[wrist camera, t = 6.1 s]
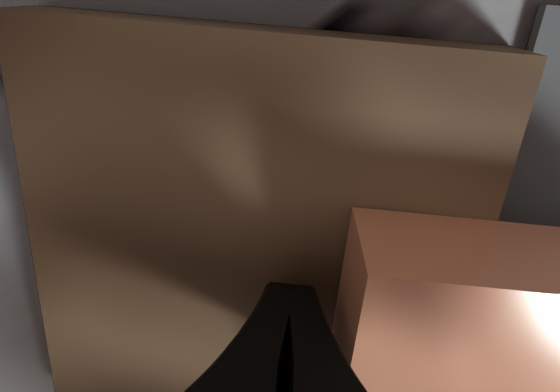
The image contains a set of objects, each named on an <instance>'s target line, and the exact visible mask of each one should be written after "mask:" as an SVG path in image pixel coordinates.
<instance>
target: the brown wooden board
mask: <svg viewBox="0 0 560 392" xmlns="http://www.w3.org/2000/svg"><path fill="white" fill-rule="evenodd" d="M547 57H548V56H546V55H542V54H538V53H535V52H531V51H527V50H524V49H520V48H516V47H513V46H505V45H493V44H482V43H470V42H459V41H447V40H435V39H424V38H412V37H401V36H389V35H377V34H366V33H354V32H343V31H331V30H320V29H308V28H296V27H285V26H273V25H262V24H250V23H238V22H227V21H215V20H204V19H192V18H181V17H169V16H157V15H146V14H134V13H123V12H111V11H99V10H88V9H76V8H65V7H53V6H42V5H38V6H18V7H0V66H1V72H2V78H3V84H4V90H5V96H6V102H7V108H8V114H9V120H10V126H11V132H12V138H13V144H14V150H15V156H16V162H17V168H18V174H19V180H20V186H21V192H22V198H23V204H24V210H25V216H26V222H27V228H28V234H29V240H30V246H31V252H32V258H33V264H34V270H35V276H36V282H37V288H38V294H39V300H40V306H41V312H42V318H43V324H44V330H45V336H46V342H47V348H48V354H49V360H50V366H51V372H52V378H53V384H54V390H55V392H184V391H185V390H186V389H187V388H188V387H189V386H190V385H191V384H192V383H193V382H195V381H196V380H197V379H198V378H199V377H200V376H201V375H202V374H203V373H204V372H205V371H206V370H207V369H208V368H209V367H210V366H211V365H212V363H213V362H214V361H215V360H216V359H217V358H218V357H219V356H220V354H221V353H222V352H223V351H224V350H225V349H226V347H227V346H228V345H229V343H230V342H231V341H232V340H233V338H234V337H235V336H236V335H237V333H238V332H239V331H240V329H241V328H242V326H243V325H244V323H245V322H246V321H247V319H248V318H249V316H250V315H251V313H252V312H253V310H254V308H255V307H256V305H257V303H258V301H259V300H260V298H261V296H262V294H263V291H264V289H265V286H266V285H267V284H268V283H269V282H277V283H287V284H297V285H307V286H313V287H314V289H315V290H316V293H317V297H318V300H319V303H320V306H321V308H322V311H323V313H324V316H325V318H326V321H327V323H328V325H329V327H330V329H331V331H332V326H333V320H334V314H335V308H336V302H337V296H338V290H339V284H340V278H341V272H342V266H343V260H344V254H345V248H346V242H347V236H348V230H349V224H350V218H351V212H352V207H358V208H369V209H379V210H389V211H400V212H410V213H420V214H431V215H441V216H451V217H462V218H472V219H483V220H493V221H498V219H499V215H500V212H501V209H502V206H503V202H504V199H505V196H506V192H507V189H508V186H509V183H510V179H511V176H512V173H513V169H514V166H515V163H516V159H517V156H518V153H519V150H520V146H521V143H522V140H523V136H524V133H525V130H526V126H527V123H528V120H529V117H530V113H531V110H532V107H533V103H534V100H535V97H536V93H537V90H538V87H539V84H540V80H541V77H542V74H543V70H544V67H545V64H546V60H547Z"/></svg>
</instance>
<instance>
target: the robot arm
mask: <svg viewBox="0 0 560 392" xmlns="http://www.w3.org/2000/svg"><path fill="white" fill-rule="evenodd" d="M184 392H367V390H366V389H365V387H364V386H363V385H362V383H361V382H360V380H359V379H358V377H357V376H356V374H355V372H354V371H353V369H352V368H351V366H350V364H349V363H348V361H347V359H346V358H345V356H344V354H343V352H342V351H341V349H340V347H339V345H338V343H337V341H336V339H335V337H334V335H333V333H332V331H331V329H330V327H329V325H328V323H327V321H326V318H325V316H324V313H323V311H322V308H321V306H320V303H319V300H318V297H317V293H316V290H315V289H314V287H313V286H307V285H297V284H287V283H277V282H269V283H268V284H267V285H266V286H265V289H264V291H263V294H262V296H261V298H260V300H259V301H258V303H257V305H256V307H255V308H254V310H253V312H252V313H251V315H250V316H249V318H248V319H247V321H246V322H245V323H244V325H243V326H242V328H241V329H240V331H239V332H238V333H237V335H236V336H235V337H234V338H233V340H232V341H231V342H230V343H229V345H228V346H227V347H226V349H225V350H224V351H223V352H222V353H221V354H220V356H219V357H218V358H217V359H216V360H215V361H214V362H213V363H212V365H211V366H210V367H209V368H208V369H207V370H206V371H205V372H204V373H203V374H202V375H201V376H200V377H199V378H198V379H197V380H196V381H195V382H193V383H192V384H191V385H190V386H189V387H188V388H187V389H186V390H185V391H184Z"/></svg>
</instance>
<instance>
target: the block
mask: <svg viewBox="0 0 560 392" xmlns="http://www.w3.org/2000/svg"><path fill="white" fill-rule="evenodd" d="M332 333H333V335H334V337H335V339H336V341H337V343H338V345H339V347H340V349H341V351H342V352H343V354H344V356H345V358H346V359H347V361H348V363H349V364H350V366H351V368H352V369H353V371H354V372H355V374H356V376H357V377H358V379H359V380H360V382H361V383H362V385H363V386H364V387H365V389H366V390H367V392H560V227H555V226H545V225H534V224H524V223H514V222H503V221H493V220H483V219H472V218H462V217H451V216H441V215H431V214H420V213H410V212H400V211H389V210H379V209H369V208H358V207H352V212H351V218H350V224H349V230H348V236H347V242H346V248H345V254H344V260H343V266H342V272H341V278H340V284H339V290H338V296H337V302H336V308H335V314H334V320H333V326H332Z"/></svg>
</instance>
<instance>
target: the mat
mask: <svg viewBox="0 0 560 392" xmlns="http://www.w3.org/2000/svg"><path fill="white" fill-rule="evenodd" d="M526 50H527V51H531V52H535V53H538V54H542V55H546V56H548V57H547V60H546V64H545V67H544V70H543V74H542V77H541V80H540V84H539V87H538V90H537V93H536V97H535V100H534V103H533V107H532V110H531V113H530V117H529V120H528V123H527V126H526V130H525V133H524V136H523V140H522V143H521V146H520V150H519V153H518V156H517V159H516V163H515V166H514V169H513V173H512V176H511V179H510V183H509V186H508V189H507V192H506V196H505V199H504V202H503V206H502V209H501V212H500V215H499V219H498V221H503V222H514V223H524V224H534V225H545V226H555V227H560V6H558V5H546V4H539V6H538V10H537V13H536V17H535V20H534V24H533V27H532V31H531V35H530V38H529V42H528V45H527V49H526Z"/></svg>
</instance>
